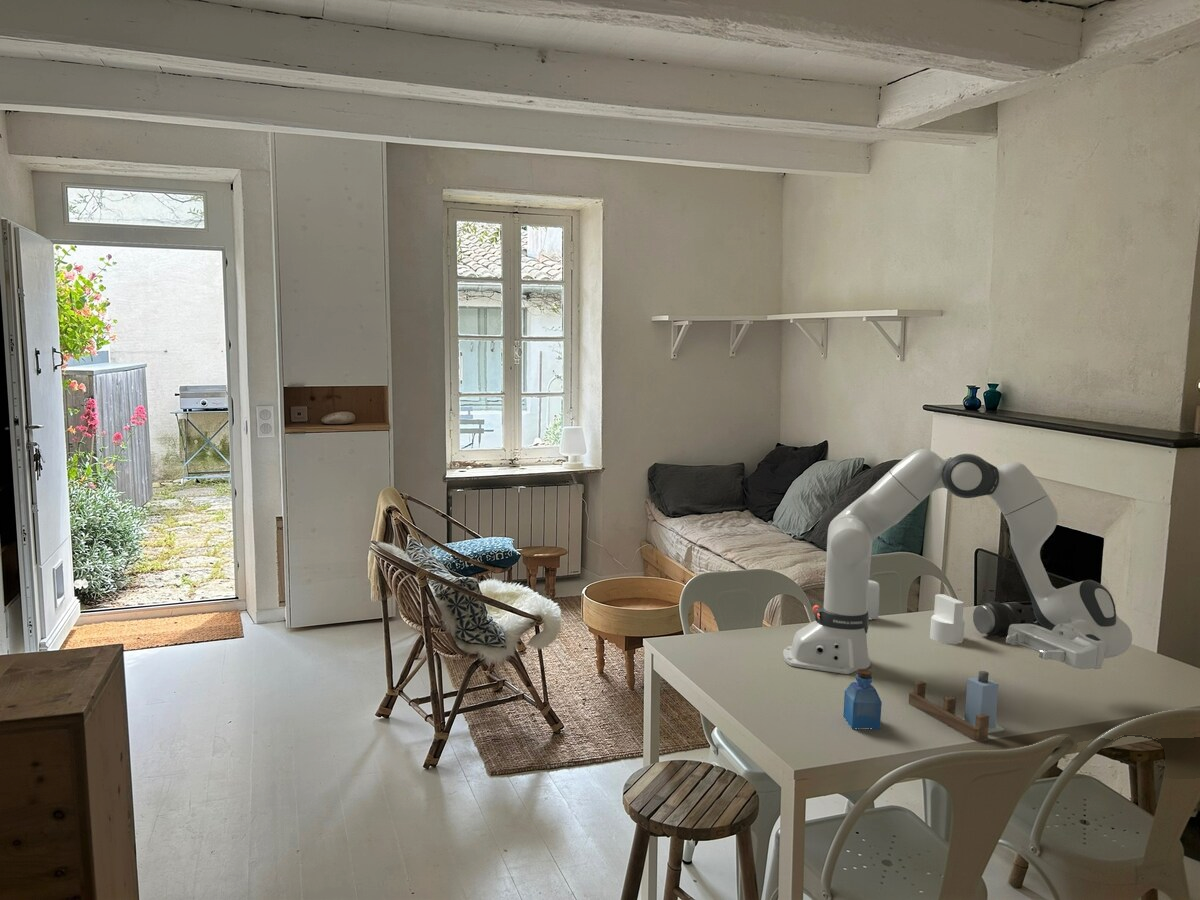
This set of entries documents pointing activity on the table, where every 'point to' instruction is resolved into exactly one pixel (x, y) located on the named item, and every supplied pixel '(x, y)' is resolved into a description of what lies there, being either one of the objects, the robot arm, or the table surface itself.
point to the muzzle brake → (1003, 617)
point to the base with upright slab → (947, 620)
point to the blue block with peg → (981, 698)
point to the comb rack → (951, 714)
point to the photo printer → (873, 599)
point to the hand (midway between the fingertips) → (1024, 647)
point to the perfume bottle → (862, 702)
